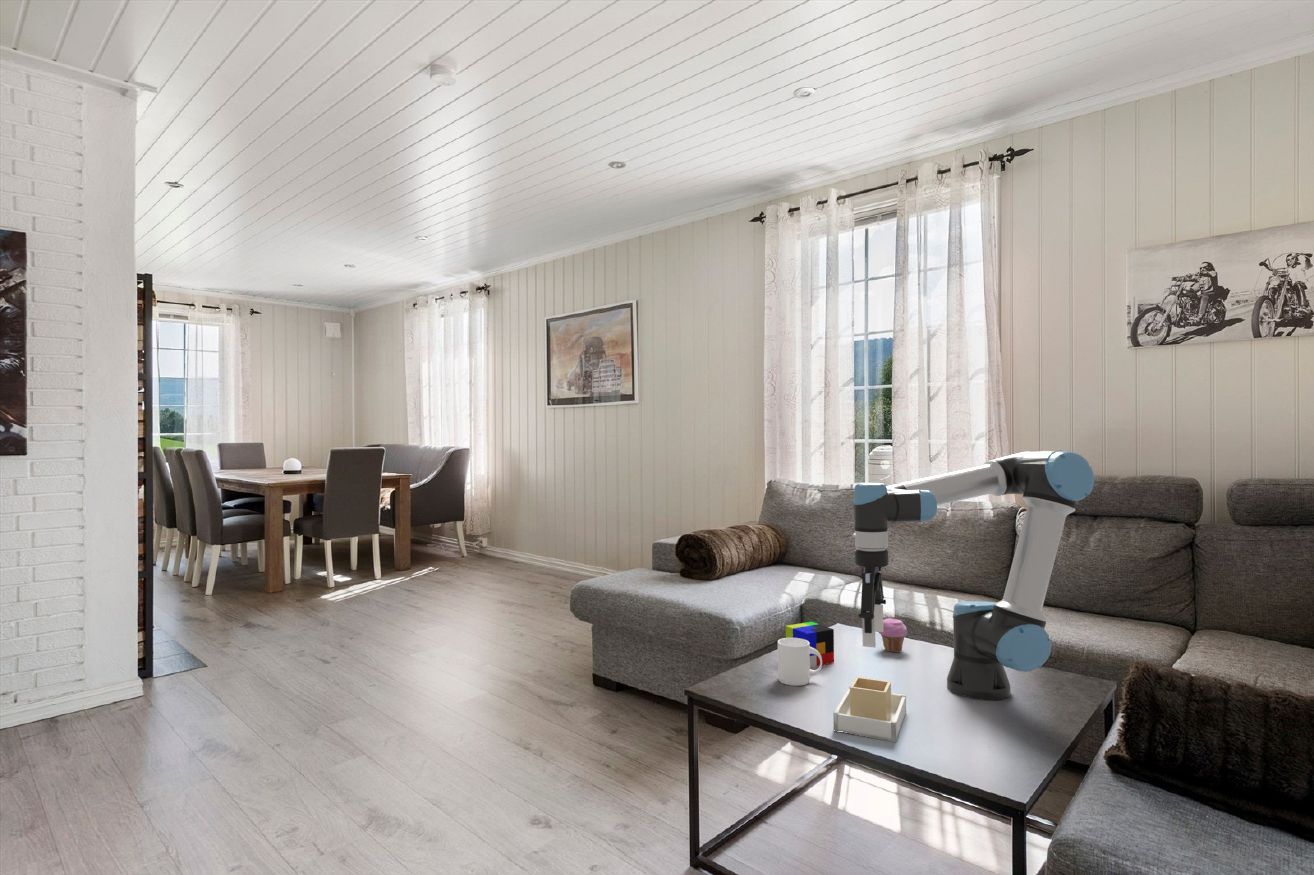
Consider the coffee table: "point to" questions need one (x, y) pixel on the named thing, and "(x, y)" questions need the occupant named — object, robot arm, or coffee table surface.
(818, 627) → the puzzle toy
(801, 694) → the coffee table surface
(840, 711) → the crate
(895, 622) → the cupcake
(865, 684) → the small crate
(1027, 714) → the coffee table surface
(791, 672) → the mug
